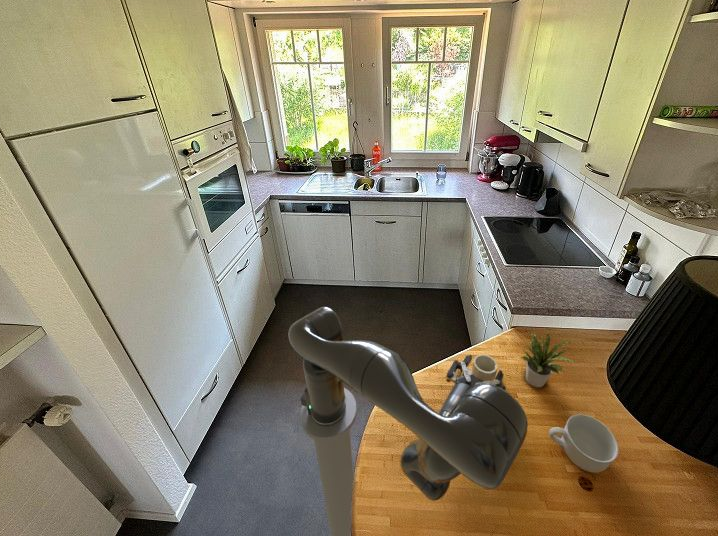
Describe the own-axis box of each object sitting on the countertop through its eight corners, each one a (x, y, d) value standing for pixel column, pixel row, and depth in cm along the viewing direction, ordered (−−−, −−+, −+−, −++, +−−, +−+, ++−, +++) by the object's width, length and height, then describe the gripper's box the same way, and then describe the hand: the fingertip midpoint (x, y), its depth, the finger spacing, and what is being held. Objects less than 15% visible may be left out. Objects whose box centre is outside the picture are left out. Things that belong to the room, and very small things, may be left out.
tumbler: (467, 393, 90) (472, 369, 86) (470, 375, 96) (475, 351, 91) (490, 400, 88) (496, 376, 84) (492, 382, 94) (498, 357, 89)
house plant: (573, 381, 97) (589, 342, 90) (555, 412, 89) (571, 371, 81) (526, 355, 106) (537, 317, 99) (506, 380, 98) (517, 341, 90)
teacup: (604, 443, 81) (615, 424, 78) (611, 489, 73) (623, 470, 69) (544, 421, 87) (551, 402, 83) (543, 461, 78) (551, 441, 74)
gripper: (491, 416, 72) (513, 367, 84) (435, 382, 80) (463, 342, 91) (486, 435, 76) (508, 387, 87) (433, 402, 83) (460, 361, 95)
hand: (485, 364), depth 89 cm, fingers open, 8 cm apart
